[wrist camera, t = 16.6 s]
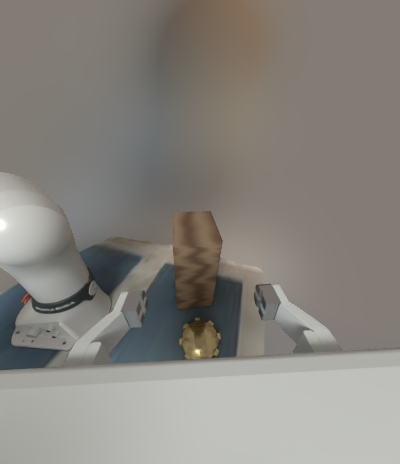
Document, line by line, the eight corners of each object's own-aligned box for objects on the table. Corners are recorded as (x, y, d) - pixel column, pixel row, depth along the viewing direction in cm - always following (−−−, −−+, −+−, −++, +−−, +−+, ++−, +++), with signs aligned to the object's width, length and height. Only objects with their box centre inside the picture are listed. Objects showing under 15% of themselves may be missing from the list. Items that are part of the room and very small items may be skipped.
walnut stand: (177, 309, 50) (172, 243, 35) (176, 273, 61) (172, 212, 46) (212, 305, 51) (222, 240, 36) (204, 271, 63) (210, 211, 48)
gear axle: (183, 449, 29) (183, 448, 27) (178, 325, 46) (178, 320, 44) (239, 436, 30) (242, 434, 29) (214, 320, 47) (215, 315, 46)
